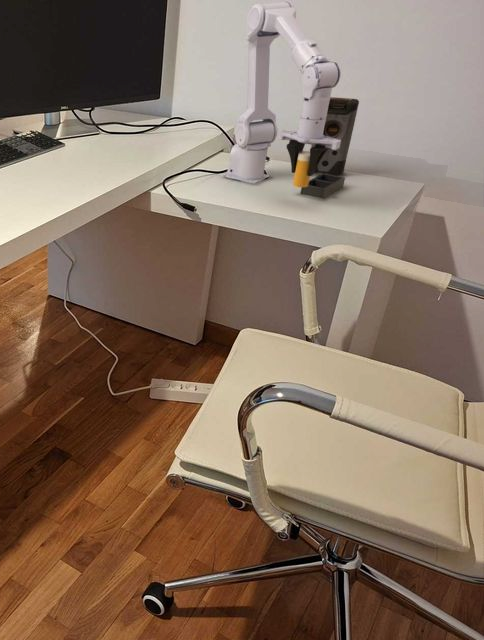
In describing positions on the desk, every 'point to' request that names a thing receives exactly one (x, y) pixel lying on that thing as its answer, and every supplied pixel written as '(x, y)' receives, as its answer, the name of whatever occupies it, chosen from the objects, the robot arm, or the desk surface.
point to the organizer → (323, 185)
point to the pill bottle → (302, 169)
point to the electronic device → (338, 134)
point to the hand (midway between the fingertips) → (302, 173)
